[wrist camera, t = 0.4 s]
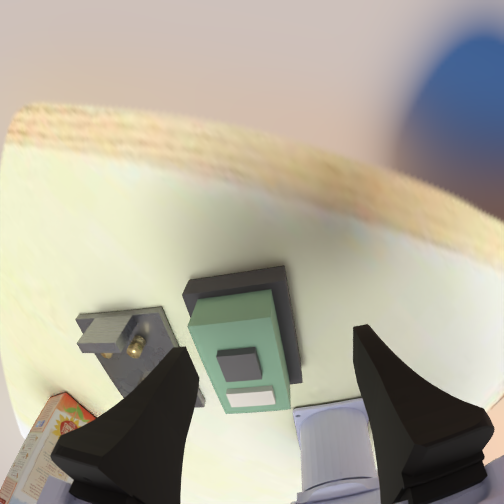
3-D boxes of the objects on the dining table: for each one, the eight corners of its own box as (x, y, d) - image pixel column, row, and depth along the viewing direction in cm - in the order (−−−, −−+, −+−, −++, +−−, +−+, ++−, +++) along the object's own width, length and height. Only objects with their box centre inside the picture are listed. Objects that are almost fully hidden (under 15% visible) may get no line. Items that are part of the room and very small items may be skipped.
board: (289, 380, 23) (290, 415, 20) (230, 386, 24) (225, 419, 21) (271, 289, 20) (270, 323, 17) (197, 299, 21) (185, 332, 17)
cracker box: (48, 396, 32) (-11, 507, 13) (66, 390, 31) (1, 517, 12) (117, 451, 37) (80, 557, 18) (140, 449, 35) (104, 568, 16)
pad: (300, 366, 25) (302, 382, 23) (223, 374, 26) (220, 390, 24) (284, 265, 21) (285, 280, 19) (188, 280, 22) (181, 294, 20)
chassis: (205, 401, 28) (198, 435, 24) (131, 399, 30) (119, 428, 26) (161, 306, 23) (143, 341, 20) (79, 314, 25) (56, 343, 21)
